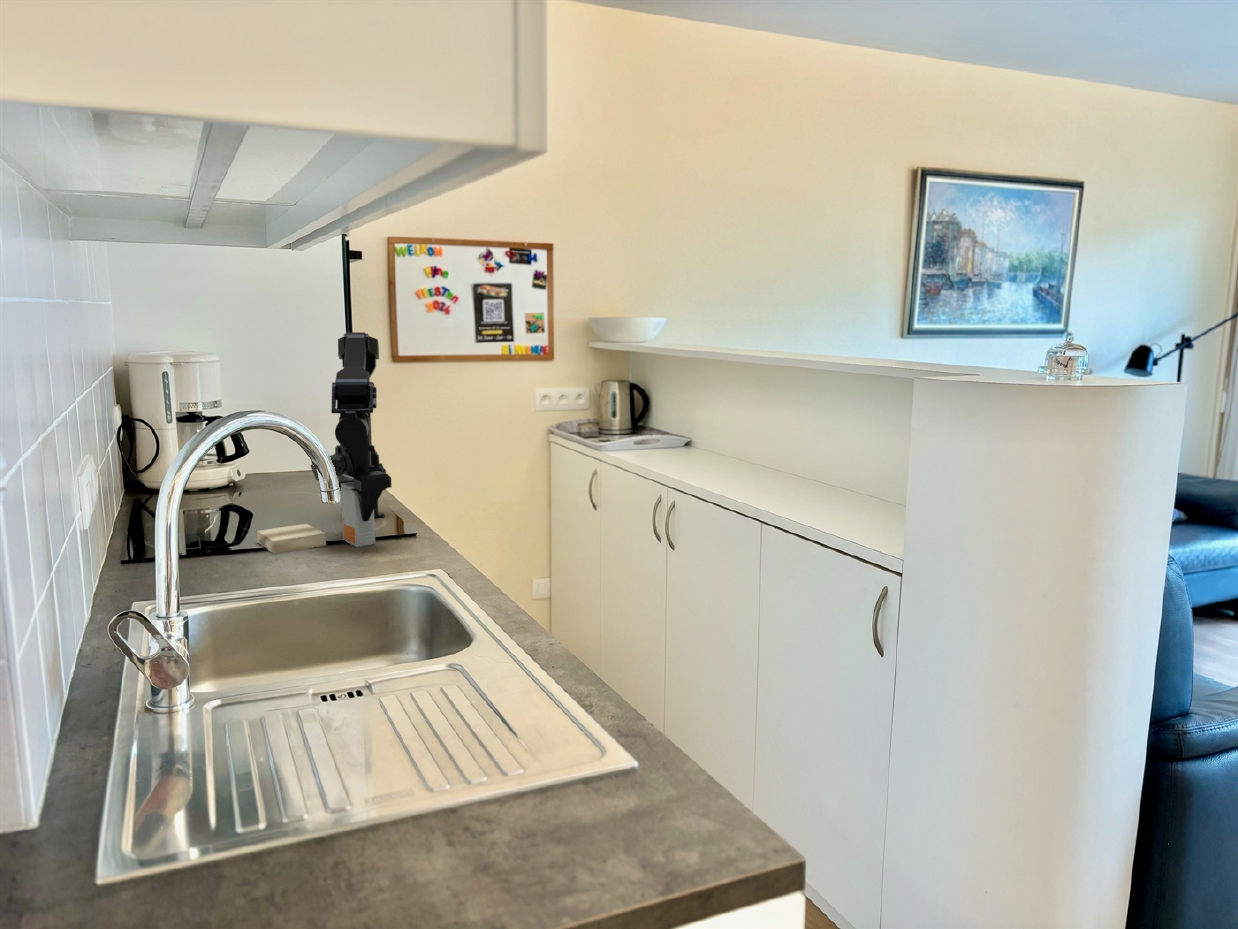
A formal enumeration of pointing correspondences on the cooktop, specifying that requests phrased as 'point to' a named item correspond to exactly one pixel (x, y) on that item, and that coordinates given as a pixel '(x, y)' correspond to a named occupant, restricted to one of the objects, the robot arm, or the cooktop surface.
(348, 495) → the skincare box
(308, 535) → the beech block
